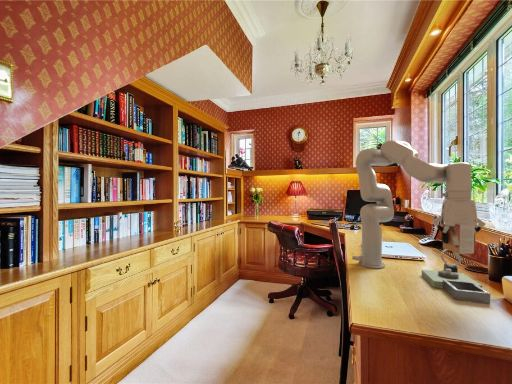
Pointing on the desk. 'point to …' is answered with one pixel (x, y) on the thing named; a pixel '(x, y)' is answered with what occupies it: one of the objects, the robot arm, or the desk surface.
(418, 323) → the desk surface
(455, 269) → the watch
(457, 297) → the grey tray
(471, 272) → the desk surface
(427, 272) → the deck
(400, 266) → the desk surface
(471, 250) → the small box
